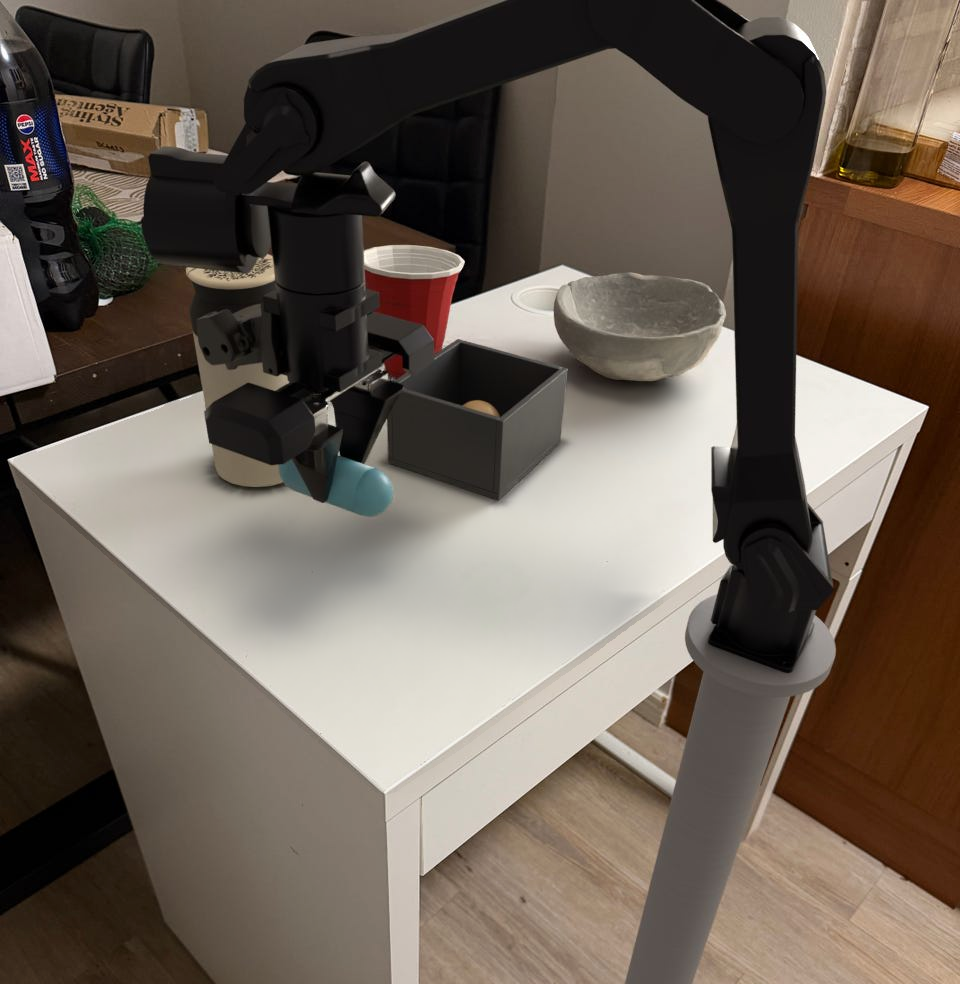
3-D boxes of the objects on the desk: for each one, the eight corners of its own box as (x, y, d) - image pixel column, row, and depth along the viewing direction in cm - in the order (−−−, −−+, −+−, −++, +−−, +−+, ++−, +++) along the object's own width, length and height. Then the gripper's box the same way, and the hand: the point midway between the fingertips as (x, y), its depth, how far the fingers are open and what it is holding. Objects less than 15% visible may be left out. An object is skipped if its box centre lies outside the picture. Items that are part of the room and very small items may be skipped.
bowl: (519, 377, 102) (523, 303, 97) (592, 324, 113) (600, 256, 108) (674, 424, 95) (688, 347, 90) (736, 362, 107) (751, 291, 101)
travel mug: (323, 459, 87) (306, 260, 76) (269, 499, 82) (242, 292, 70) (254, 437, 90) (227, 242, 78) (197, 474, 85) (160, 270, 73)
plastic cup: (476, 356, 106) (479, 245, 98) (441, 398, 98) (442, 280, 90) (386, 340, 108) (382, 231, 100) (345, 379, 100) (337, 264, 92)
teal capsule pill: (403, 508, 71) (402, 466, 69) (375, 531, 69) (373, 488, 66) (300, 472, 75) (296, 430, 72) (271, 492, 72) (265, 450, 70)
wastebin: (560, 443, 91) (567, 368, 86) (498, 500, 83) (503, 421, 78) (456, 411, 96) (457, 338, 91) (388, 463, 87) (385, 386, 82)
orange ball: (507, 445, 90) (511, 401, 87) (484, 461, 87) (488, 415, 84) (467, 433, 91) (470, 389, 89) (443, 448, 88) (446, 402, 86)
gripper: (309, 217, 70) (325, 411, 80) (118, 296, 57) (165, 514, 68) (438, 248, 66) (437, 448, 76) (262, 339, 53) (289, 564, 64)
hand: (336, 488), depth 71 cm, fingers closed on teal capsule pill, 3 cm apart
